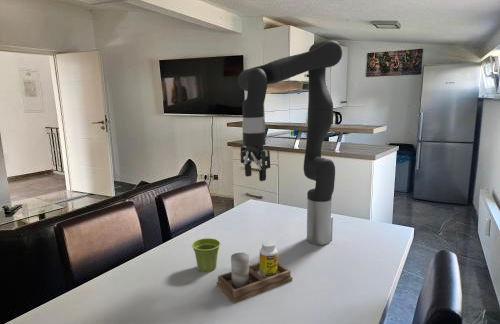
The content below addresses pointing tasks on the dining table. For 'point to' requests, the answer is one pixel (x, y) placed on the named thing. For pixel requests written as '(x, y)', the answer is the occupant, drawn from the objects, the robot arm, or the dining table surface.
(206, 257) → the plant pot
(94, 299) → the dining table surface
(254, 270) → the caddy
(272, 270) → the supplement bottle
